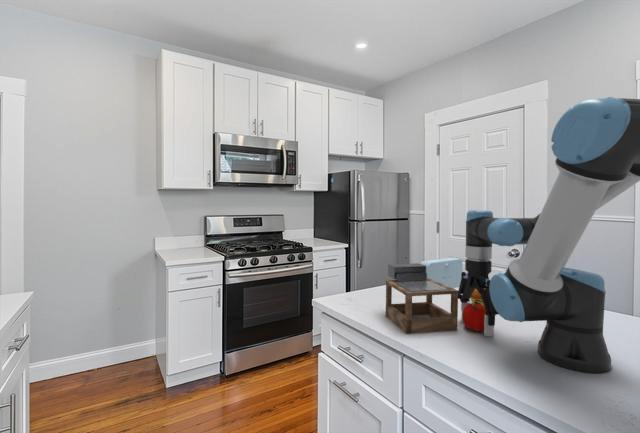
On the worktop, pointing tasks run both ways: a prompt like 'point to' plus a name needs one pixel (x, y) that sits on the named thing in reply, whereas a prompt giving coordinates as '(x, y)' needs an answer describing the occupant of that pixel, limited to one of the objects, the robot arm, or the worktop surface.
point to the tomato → (474, 317)
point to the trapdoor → (412, 277)
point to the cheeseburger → (476, 298)
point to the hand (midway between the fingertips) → (476, 328)
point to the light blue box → (444, 271)
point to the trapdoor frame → (421, 309)
